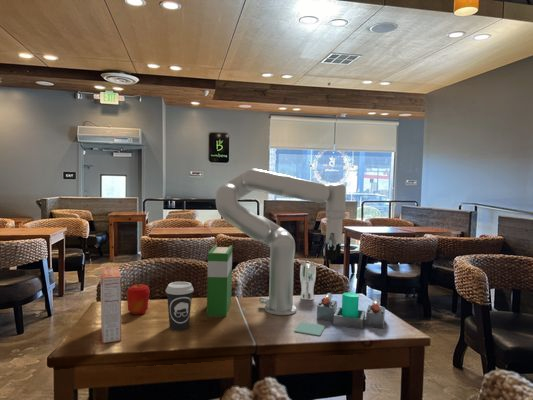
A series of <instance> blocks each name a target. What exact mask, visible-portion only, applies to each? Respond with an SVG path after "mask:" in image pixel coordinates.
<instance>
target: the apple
mask: <svg viewBox="0 0 533 400" xmlns="http://www.w3.org/2000/svg"><path fill="white" fill-rule="evenodd" d="M150 292H151V291H150V288H149V285H146V284H143V283H140V282H138V283H137V284H132V285H131V286H130V287H128V288H127V290H126V300H127V311H128V312H129V313H130V314H132V315H135V316H137V315H138V316H139V315H143V314H145V313H146V312H147V310H148V309H149V298H150Z"/></svg>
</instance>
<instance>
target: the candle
mask: <svg viewBox="0 0 533 400" xmlns="http://www.w3.org/2000/svg"><path fill="white" fill-rule="evenodd" d="M341 294H342V298H341V307H342V316H347V317H354V318H358V310H359V300H360V299H359V294H357V293H355V292H352V291H350V292H344V293H341Z"/></svg>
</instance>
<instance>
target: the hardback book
mask: <svg viewBox="0 0 533 400" xmlns="http://www.w3.org/2000/svg"><path fill="white" fill-rule="evenodd" d="M232 267H233V245H229V246H226V247H225V246H218V245H217V244H214V245H213V246H212V247H211V249H210V250H209V251H208V252H207V278H206V279H207V283H206V284H207V285H206V288H207V289H206V292H207V293H206V317H219V318H221V317H224V318H227V316H228V314H229V310H230V306H231V303H232V284H233V283H232V281H233V280H232V279H233V268H232Z"/></svg>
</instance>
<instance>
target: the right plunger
mask: <svg viewBox="0 0 533 400" xmlns="http://www.w3.org/2000/svg"><path fill="white" fill-rule="evenodd" d="M380 305H381V300H380V299H378V298H375V299H373V301H372V304H371V310H372V311H373V312H374V313H377V312H379V310H380V307H381V306H380Z"/></svg>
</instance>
